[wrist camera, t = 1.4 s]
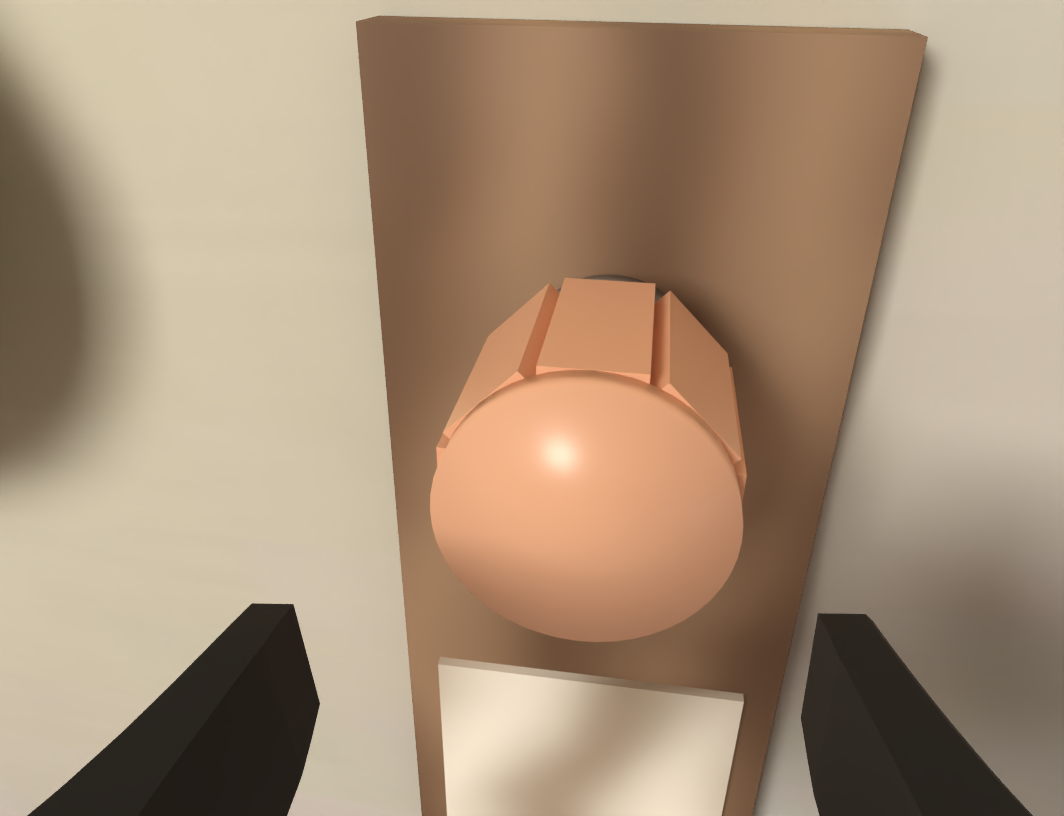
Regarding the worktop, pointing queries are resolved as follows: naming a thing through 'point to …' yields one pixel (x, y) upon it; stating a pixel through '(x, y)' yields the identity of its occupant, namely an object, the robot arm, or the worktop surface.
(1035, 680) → the worktop surface
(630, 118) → the board
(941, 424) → the worktop surface
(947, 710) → the worktop surface
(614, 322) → the cap
